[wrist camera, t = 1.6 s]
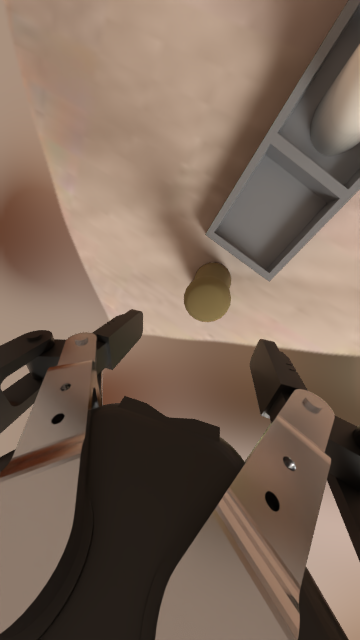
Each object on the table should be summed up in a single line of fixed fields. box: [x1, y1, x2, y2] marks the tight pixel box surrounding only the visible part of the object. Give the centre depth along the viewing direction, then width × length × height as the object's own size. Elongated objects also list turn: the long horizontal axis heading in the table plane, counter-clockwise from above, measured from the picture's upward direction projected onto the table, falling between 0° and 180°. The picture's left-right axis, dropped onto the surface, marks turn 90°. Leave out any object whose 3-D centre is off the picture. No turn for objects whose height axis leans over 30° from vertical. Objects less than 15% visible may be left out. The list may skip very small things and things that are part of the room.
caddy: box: [205, 0, 360, 282], centre depth 17 cm, size 20×11×3 cm, turn 149°
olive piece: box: [184, 263, 231, 322], centre depth 21 cm, size 6×6×11 cm
